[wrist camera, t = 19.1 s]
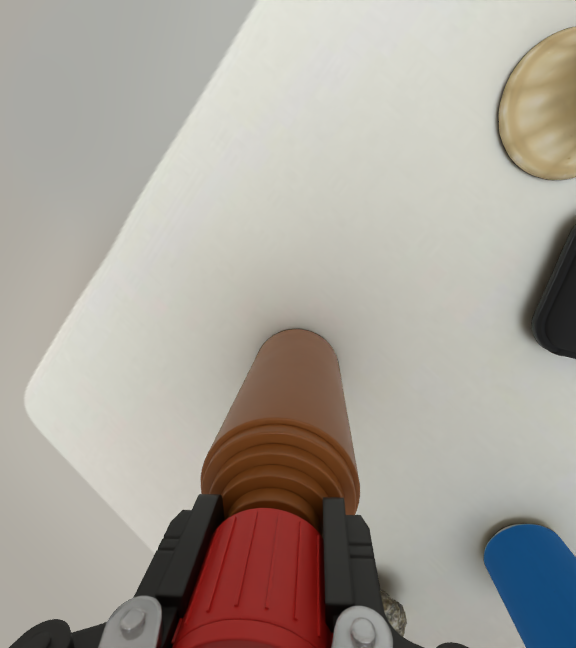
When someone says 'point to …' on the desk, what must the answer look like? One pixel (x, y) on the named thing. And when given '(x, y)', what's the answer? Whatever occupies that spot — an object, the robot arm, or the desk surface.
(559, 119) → the hand bell
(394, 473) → the desk surface
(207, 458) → the bottle
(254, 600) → the bottle cap
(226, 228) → the desk surface
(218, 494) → the robot arm
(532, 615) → the beverage can
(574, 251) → the carrying case
